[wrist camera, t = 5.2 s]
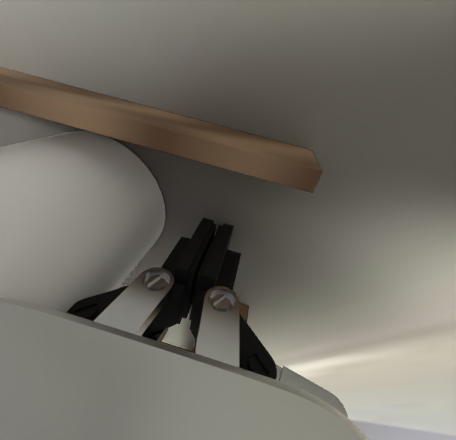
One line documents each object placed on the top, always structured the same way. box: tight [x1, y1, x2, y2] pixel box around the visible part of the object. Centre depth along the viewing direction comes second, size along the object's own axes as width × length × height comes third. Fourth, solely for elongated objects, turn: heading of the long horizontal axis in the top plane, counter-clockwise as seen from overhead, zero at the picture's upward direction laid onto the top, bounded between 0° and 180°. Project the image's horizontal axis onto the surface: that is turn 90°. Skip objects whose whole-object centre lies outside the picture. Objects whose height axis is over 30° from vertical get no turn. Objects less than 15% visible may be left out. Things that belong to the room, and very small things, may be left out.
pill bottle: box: [0, 131, 166, 313], centre depth 9 cm, size 8×8×11 cm
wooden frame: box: [0, 67, 322, 352], centre depth 15 cm, size 24×19×3 cm
